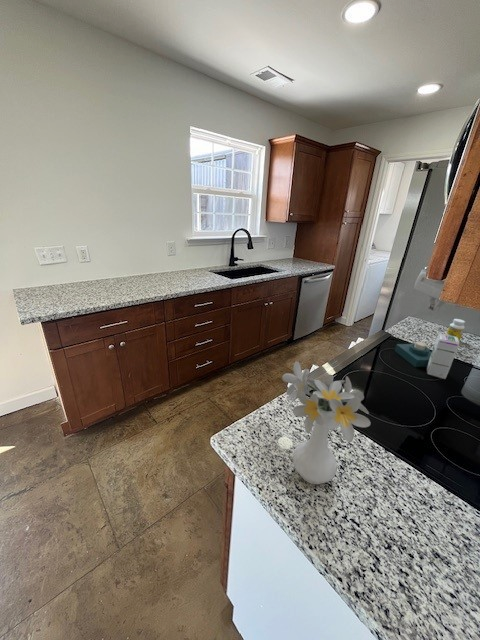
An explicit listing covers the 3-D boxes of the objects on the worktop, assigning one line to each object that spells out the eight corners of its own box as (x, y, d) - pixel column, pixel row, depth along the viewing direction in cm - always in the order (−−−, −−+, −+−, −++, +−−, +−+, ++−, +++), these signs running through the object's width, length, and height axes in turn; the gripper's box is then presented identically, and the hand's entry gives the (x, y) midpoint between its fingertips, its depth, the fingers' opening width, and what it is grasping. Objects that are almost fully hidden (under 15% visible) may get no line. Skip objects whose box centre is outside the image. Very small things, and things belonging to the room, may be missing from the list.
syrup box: (445, 379, 92) (461, 343, 86) (426, 374, 95) (439, 338, 89) (444, 371, 97) (459, 336, 91) (425, 366, 100) (438, 332, 94)
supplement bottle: (461, 341, 120) (470, 322, 116) (454, 343, 118) (462, 323, 114) (449, 336, 124) (456, 317, 120) (442, 337, 122) (449, 318, 118)
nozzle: (427, 350, 102) (428, 345, 101) (418, 350, 101) (420, 346, 100) (420, 345, 105) (421, 341, 104) (411, 346, 104) (413, 341, 104)
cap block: (439, 366, 100) (443, 355, 98) (415, 367, 99) (419, 355, 97) (416, 350, 111) (420, 339, 109) (394, 350, 110) (397, 340, 108)
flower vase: (295, 430, 69) (308, 347, 59) (362, 484, 57) (393, 390, 46) (259, 457, 62) (267, 367, 52) (327, 526, 49) (355, 425, 39)
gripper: (415, 265, 100) (405, 300, 105) (464, 280, 81) (448, 321, 87) (430, 265, 101) (419, 300, 106) (482, 280, 82) (465, 321, 88)
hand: (432, 309), depth 96 cm, fingers closed
